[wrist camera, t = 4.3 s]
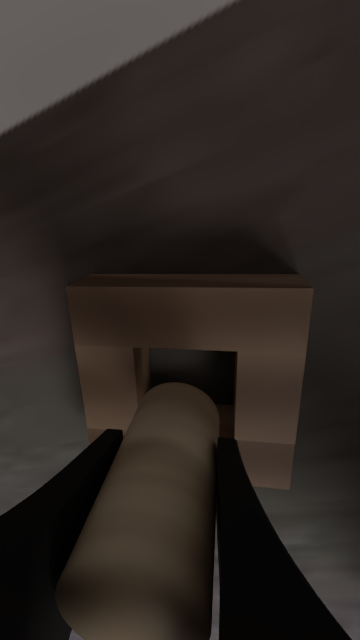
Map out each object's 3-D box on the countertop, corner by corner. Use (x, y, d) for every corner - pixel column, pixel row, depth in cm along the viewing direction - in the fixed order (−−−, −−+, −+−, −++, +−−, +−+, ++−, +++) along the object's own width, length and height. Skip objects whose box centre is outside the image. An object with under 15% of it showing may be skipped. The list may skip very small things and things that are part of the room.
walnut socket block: (281, 449, 19) (289, 490, 16) (112, 435, 21) (93, 470, 18) (298, 274, 16) (313, 288, 13) (91, 273, 17) (65, 286, 14)
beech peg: (218, 455, 14) (209, 675, 7) (140, 447, 14) (66, 647, 8) (220, 385, 13) (213, 574, 6) (135, 379, 13) (43, 548, 7)
